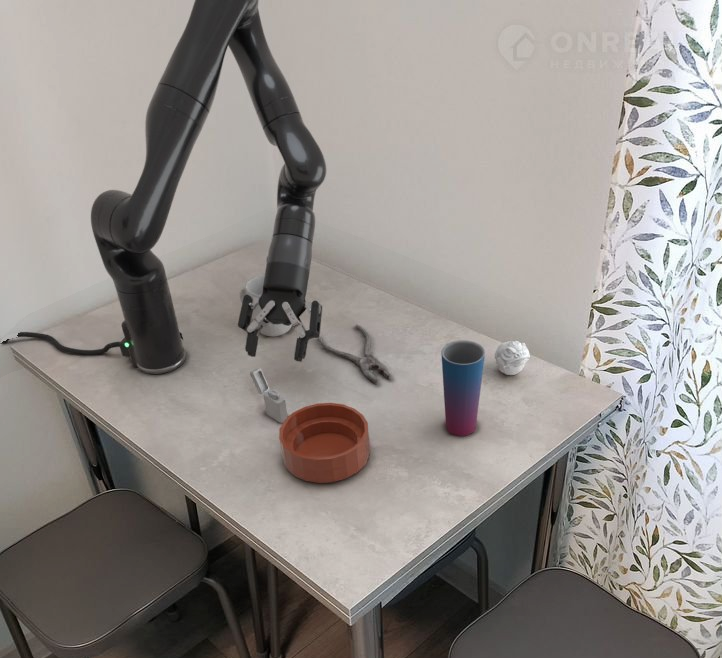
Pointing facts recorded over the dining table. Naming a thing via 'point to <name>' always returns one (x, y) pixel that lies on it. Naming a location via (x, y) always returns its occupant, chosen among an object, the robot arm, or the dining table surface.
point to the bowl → (324, 442)
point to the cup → (462, 385)
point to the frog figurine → (511, 357)
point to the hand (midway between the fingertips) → (274, 358)
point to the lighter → (270, 397)
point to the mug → (256, 290)
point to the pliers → (363, 363)
